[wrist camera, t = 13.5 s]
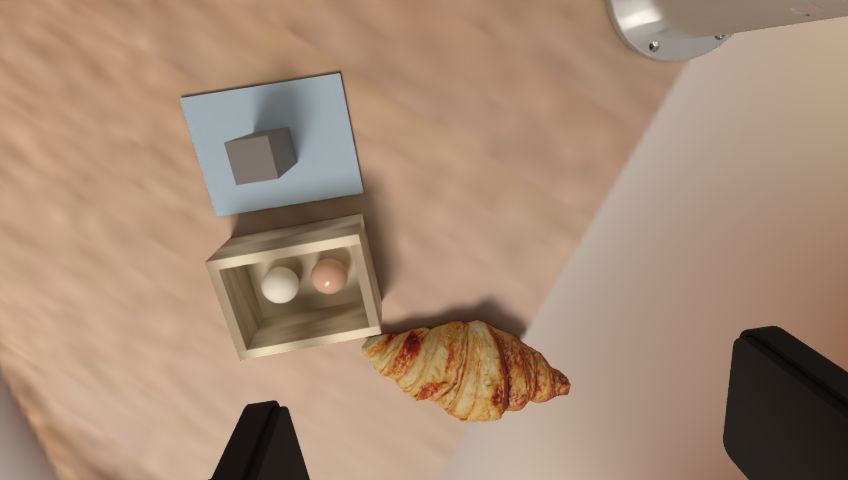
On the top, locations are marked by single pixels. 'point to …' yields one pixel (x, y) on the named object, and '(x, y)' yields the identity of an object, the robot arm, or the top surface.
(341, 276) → the ball terracotta
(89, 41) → the top surface
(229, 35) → the top surface
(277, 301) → the ball cream
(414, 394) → the croissant
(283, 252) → the box
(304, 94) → the lid
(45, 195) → the top surface
